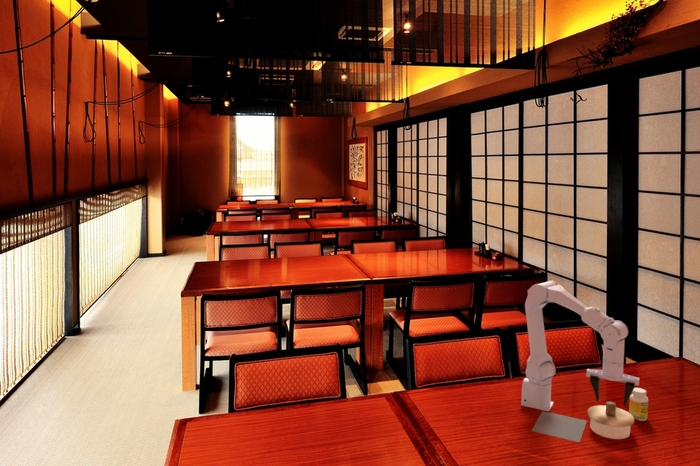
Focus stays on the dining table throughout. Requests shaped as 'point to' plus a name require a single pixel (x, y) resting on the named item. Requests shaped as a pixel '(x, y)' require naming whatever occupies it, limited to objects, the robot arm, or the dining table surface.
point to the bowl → (610, 430)
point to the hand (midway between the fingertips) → (611, 402)
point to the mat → (560, 426)
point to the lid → (610, 415)
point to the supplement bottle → (638, 404)
